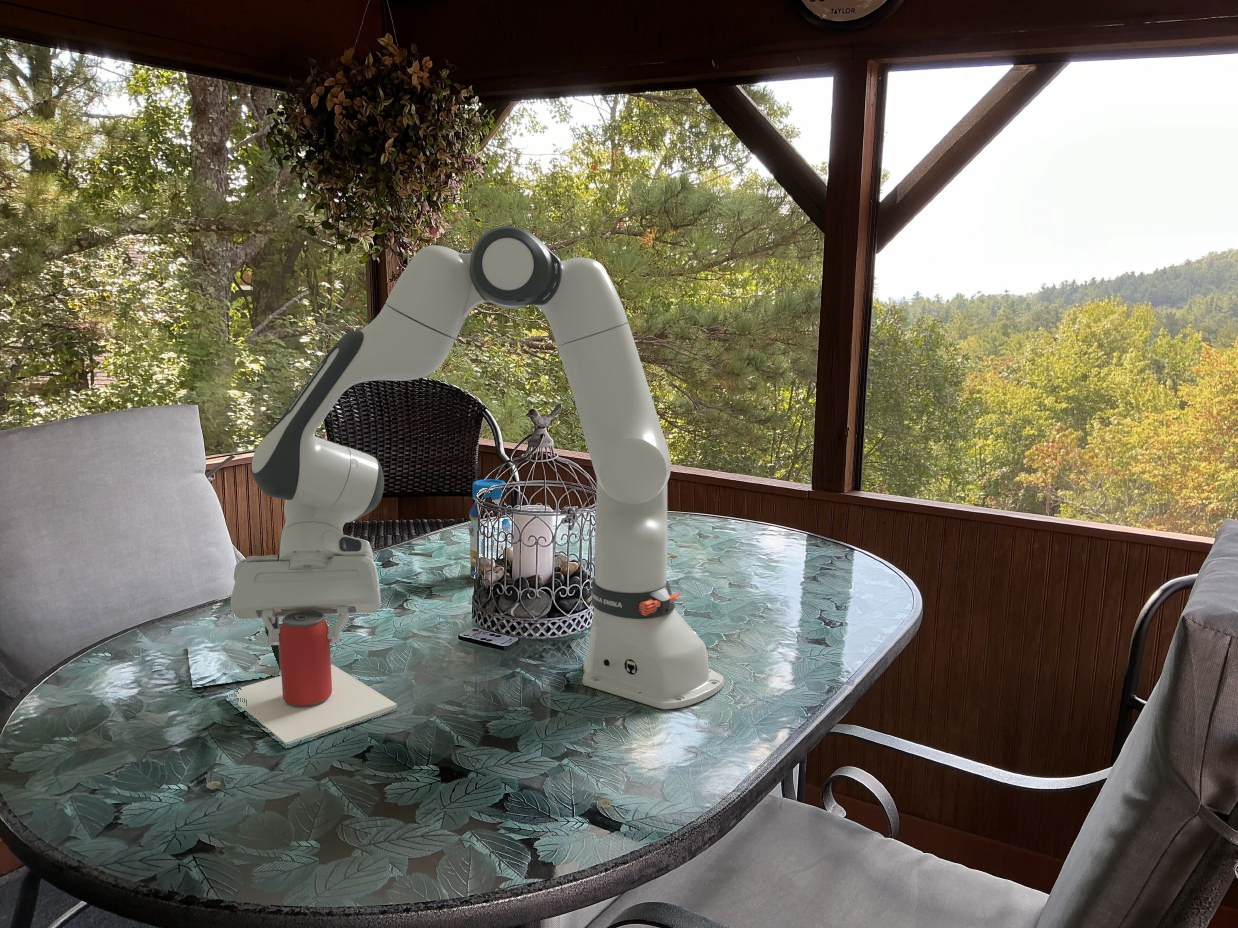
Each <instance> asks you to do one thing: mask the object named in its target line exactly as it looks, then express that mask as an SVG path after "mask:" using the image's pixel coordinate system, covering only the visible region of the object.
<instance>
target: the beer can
mask: <svg viewBox="0 0 1238 928" xmlns="http://www.w3.org/2000/svg"><path fill="white" fill-rule="evenodd" d="M325 616H326V615H324V614H323V613H321V612H317V611H300V612H295V613H291V614H289V615H287V616H285V617H282V619H281V621H282V624H281V626H280V628H279V629H280V633H279V639H280V659H281V671H280V672H281V675H280V676H282V693H283V699H284V701H285V702H286V703H288V704H289V705H292V706H297V707H307V706H313V705H317V704H320V703H322V702H324V701H325V700H327V699H328V698H329V697H330V696H331V693H332V677H331V664H332V660H331V642H329V640H328V638H327V635H328V633H329V632H328V626H329V625H328V622H327V621H326V618H325Z"/></svg>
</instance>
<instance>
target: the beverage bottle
mask: <svg viewBox="0 0 1238 928" xmlns="http://www.w3.org/2000/svg"><path fill="white" fill-rule="evenodd" d="M504 484H506V482H505V480H500V479H495V478H494V479H493V478H491V479H490V478H489V479H486V478H485V479H479V480H475V481H473V482H472V487H471V488H472V489H471V490H472V499H473V500H474V503H473V504H472V506H471V509H470V510H469V513H468V514H469V515H468V517H469V519H470V523H469V525H468V532H469V547H470V549H469V551H470V552H469V553H470V555H469V556H470V557H469V558H470V572H469V573H470V577H471V579H472V578H474V575H475V567H476V559H477V531H478V513H477V505H476V495H477V493H478V492H479V490H480V489H482V488H489V487H491V486H493V485H504ZM506 485H507V484H506ZM505 492H506V493H507V488H506V489H505ZM501 494H502V489H501V488H495V489H493V490H492V492H491V493H485V495H484V496H483V498H484V499H486V498H489V497H491V499H492V502H494V503H495V504H498V503H499V501H500V498H501ZM506 497H507V494H506V495H505V498H506ZM504 505H506V506H507V507H508V505H507V503H505V501H504ZM511 527H512V526H511V522H510V521H509V519H504V520H503V521H502V529H503V531H505V532H506V533H510V534H511V531H512V528H511ZM494 532H495V527H494ZM492 546H494V540H493V541H492ZM501 550H503V547H502V546H501ZM481 554H482V556H484V555H485V541H484V539H482V541H481Z"/></svg>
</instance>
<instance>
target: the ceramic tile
mask: <svg viewBox="0 0 1238 928" xmlns="http://www.w3.org/2000/svg"><path fill="white" fill-rule="evenodd" d="M331 677H332V693H331V696H330V697H329V698H328V699H327V700H325V701H324V702H322V703H320V704H317V705H313V706H307V707H297V706H292V705H289V704H288V703H286V702H285V701H284V699H283V693H282V676H281V675H280V676H275V677H271V678H267V679H265V680H262V681H258V682H256V683H252V684H248V685H244V686H241V687H240V688H241V689H242V690H240V689H239V690H238V692H239V694H238V692H237V694H236V692H235V694H236V695H237V698H239V702H238V705H239V706H240V707H242V708H245V709H244V710H245V711H247V712H248V713H249V714H250V715H252V716H253V717H254V718H256V719H257V720H258V721H259V722H260V723H261V724H262V725H263V726H265V727H266V728H268V730H270V732H272V733H273V734H274V735H275V736H277V737H278V738H279V739H280V740H281V741H282V742H283V743H285V744H286V745H287V744H291V743H293V742H297V741H300V740H304V739H306V738H309V737H314V736H317V735H319V734H322V733H325V732H328V731H331V730H334V729H337V728H340V727H344V726H347V725H350V724H352V723H355V722H358V721H362V720H364V719H367V718H371V717H373V716H376V715H380V714H382V713H384V712H387V711H390V710H392V709H395V708H397V709H398V703H396V702H394V701H393V700H392V699H389V698H388V697H386V696H385V695H383V694H381V693H380V692H378V691H376V690H375V689H373V688H371V687H370V686H368V685H367V684H365V683H364V682H362V681H361V680H358V679H357V678H355V677H354V676H352V675H350V674H349V673H347V672H346V671H344V670H342V669H341V668H339V667H337V666H336V665H334V664H333V663H331ZM226 695H227V694H226ZM228 697H229V694H228ZM229 698H234V697H231V695H230V697H229ZM235 698H236V697H235ZM240 698H241V702H240ZM242 698H243V702H242ZM244 698H245V703H244ZM246 700H247V706H246Z"/></svg>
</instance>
